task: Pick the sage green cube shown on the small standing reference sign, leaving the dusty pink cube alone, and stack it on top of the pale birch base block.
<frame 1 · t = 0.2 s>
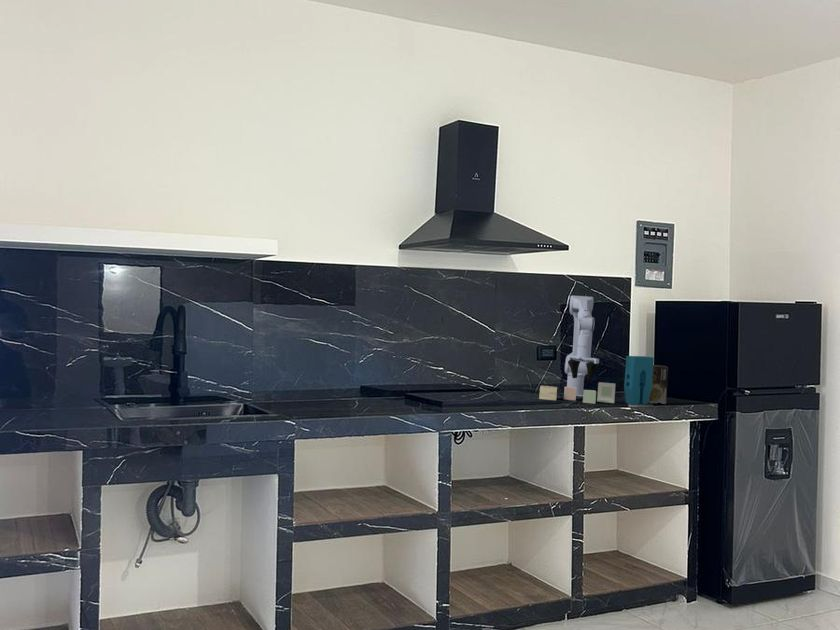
hand: (581, 379, 361), 10 cm above the countertop, tool pointing down, fingers open, 7 cm apart
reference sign: (605, 401, 370), on the countertop
base block: (547, 399, 368), on the countertop
sage cube: (589, 402, 364), on the countertop
coffee box: (653, 403, 379), on the countertop
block: (636, 404, 371), on the countertop
pink cube: (569, 399, 371), on the countertop
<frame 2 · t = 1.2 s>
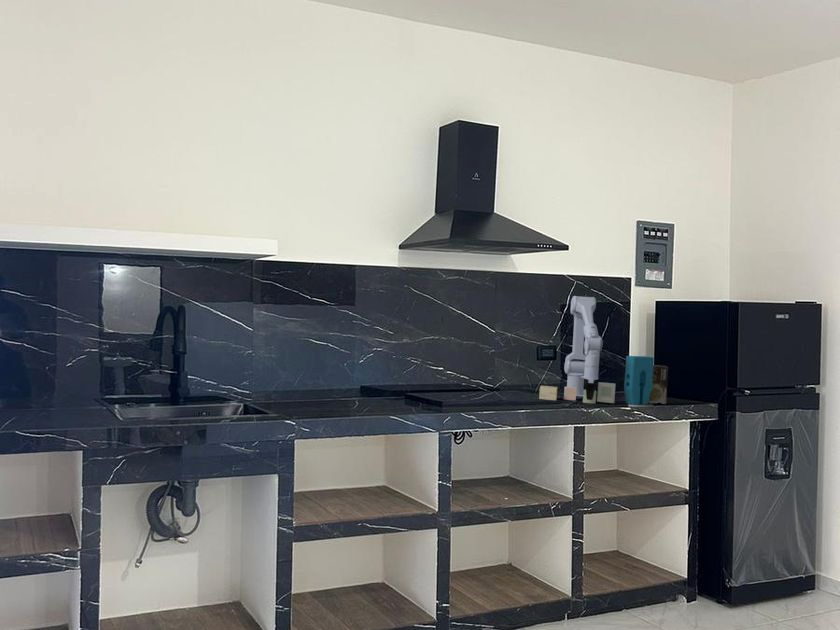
hand: (589, 398, 364), 1 cm above the countertop, tool pointing down, fingers open, 7 cm apart
nothing on the countertop moved.
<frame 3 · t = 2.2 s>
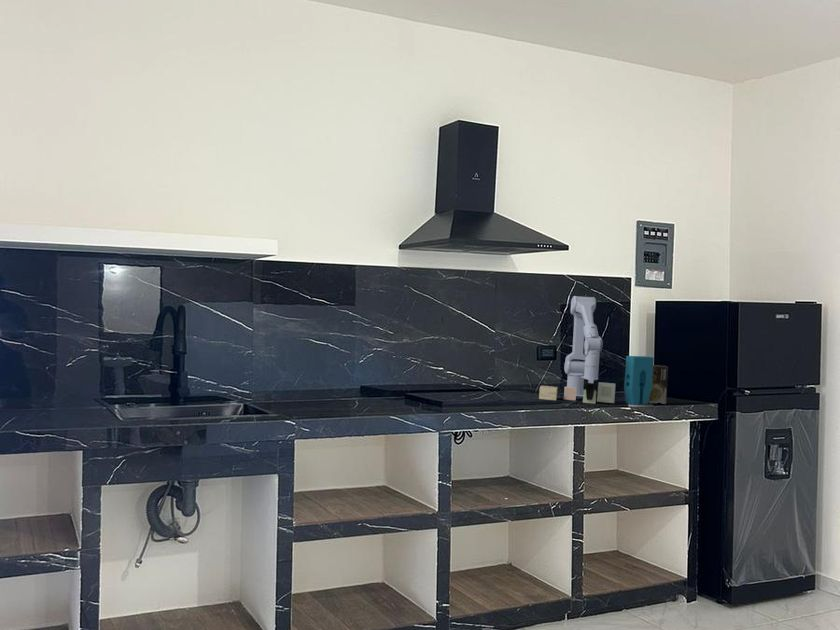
hand: (589, 398, 364), 1 cm above the countertop, tool pointing down, fingers closed on sage cube, 5 cm apart
sage cube: (589, 402, 364), on the countertop, touching gripper
everything else where it was.
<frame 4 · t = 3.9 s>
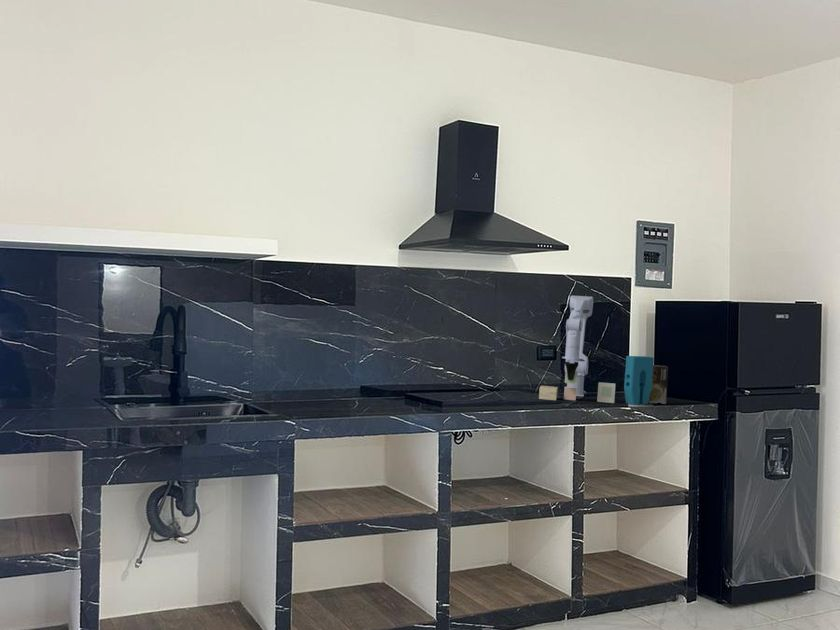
hand: (570, 379, 366), 9 cm above the countertop, tool pointing down, fingers closed on sage cube, 5 cm apart
sage cube: (570, 383, 366), point 7 cm above the countertop, touching gripper
everything else where it was.
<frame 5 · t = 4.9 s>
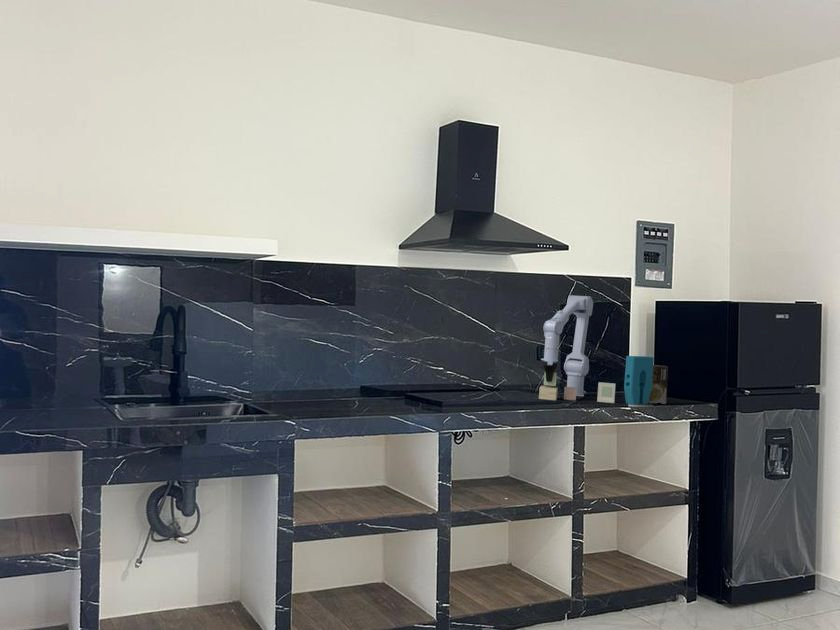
hand: (549, 381, 368), 7 cm above the countertop, tool pointing down, fingers closed on sage cube, 5 cm apart
sage cube: (549, 384, 368), point 6 cm above the countertop, touching gripper
everything else where it was.
when the fingers open (7 cm above the countertop, at t = 5.7 s): sage cube drops 1 cm, point 5 cm above the countertop.
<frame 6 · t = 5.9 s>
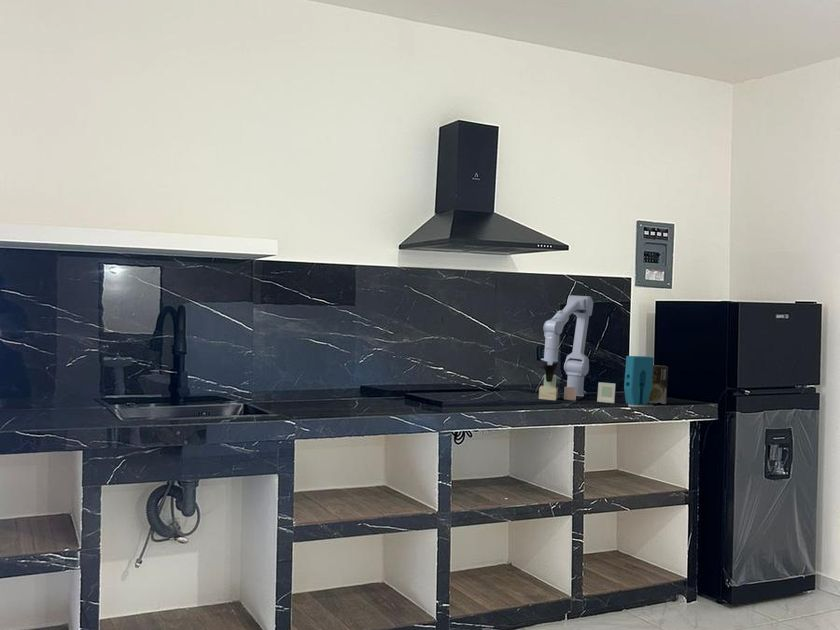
hand: (549, 381, 368), 7 cm above the countertop, tool pointing down, fingers open, 6 cm apart
sage cube: (549, 387, 368), point 5 cm above the countertop
everything else where it was.
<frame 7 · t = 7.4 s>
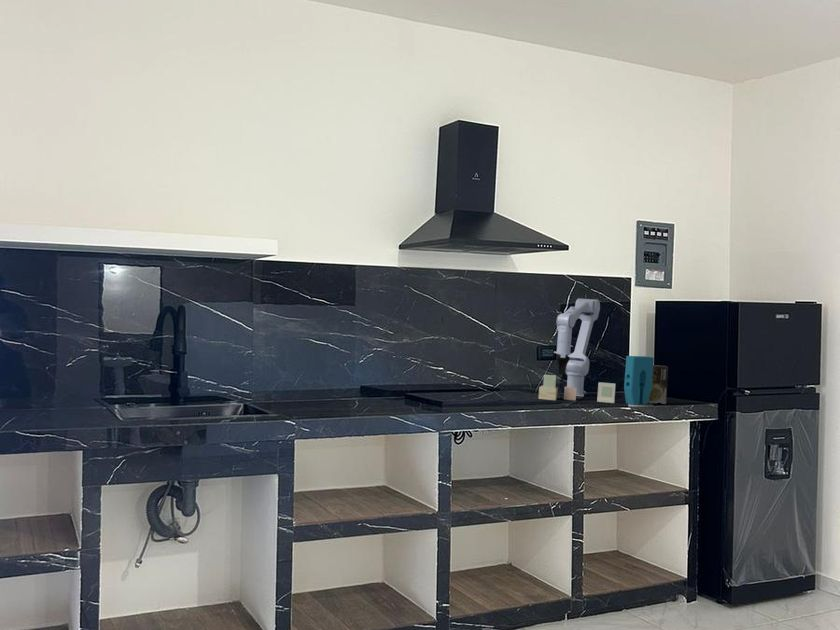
hand: (561, 373, 373), 10 cm above the countertop, tool pointing down, fingers open, 7 cm apart
base block: (547, 399, 368), on the countertop, touching sage cube
sage cube: (549, 387, 368), point 5 cm above the countertop, touching base block
everything else where it was.
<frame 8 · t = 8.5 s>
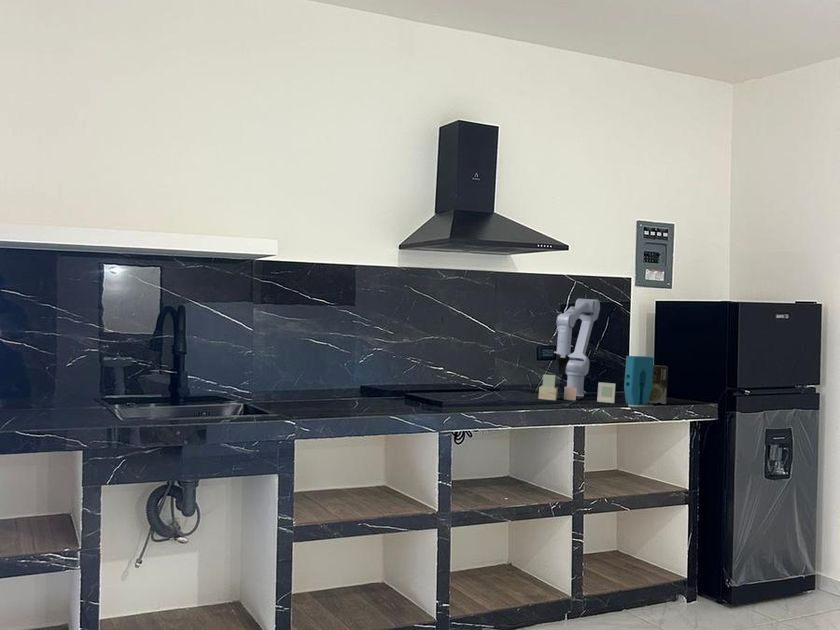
hand: (561, 373, 373), 10 cm above the countertop, tool pointing down, fingers open, 7 cm apart
base block: (547, 399, 368), on the countertop
sage cube: (548, 387, 368), point 5 cm above the countertop
everything else where it was.
at the end: sage cube 0.1 cm off-centre on the base block, point 5.0 cm above the base block's base; sage cube tilted 0°; pink cube moved 0.1 cm from its start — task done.
